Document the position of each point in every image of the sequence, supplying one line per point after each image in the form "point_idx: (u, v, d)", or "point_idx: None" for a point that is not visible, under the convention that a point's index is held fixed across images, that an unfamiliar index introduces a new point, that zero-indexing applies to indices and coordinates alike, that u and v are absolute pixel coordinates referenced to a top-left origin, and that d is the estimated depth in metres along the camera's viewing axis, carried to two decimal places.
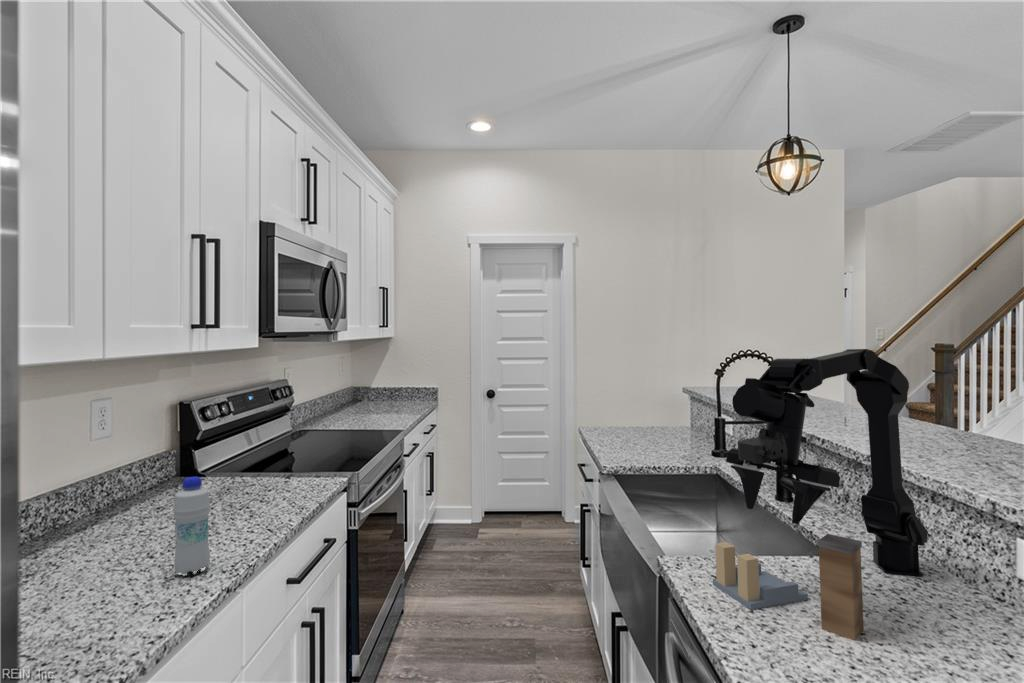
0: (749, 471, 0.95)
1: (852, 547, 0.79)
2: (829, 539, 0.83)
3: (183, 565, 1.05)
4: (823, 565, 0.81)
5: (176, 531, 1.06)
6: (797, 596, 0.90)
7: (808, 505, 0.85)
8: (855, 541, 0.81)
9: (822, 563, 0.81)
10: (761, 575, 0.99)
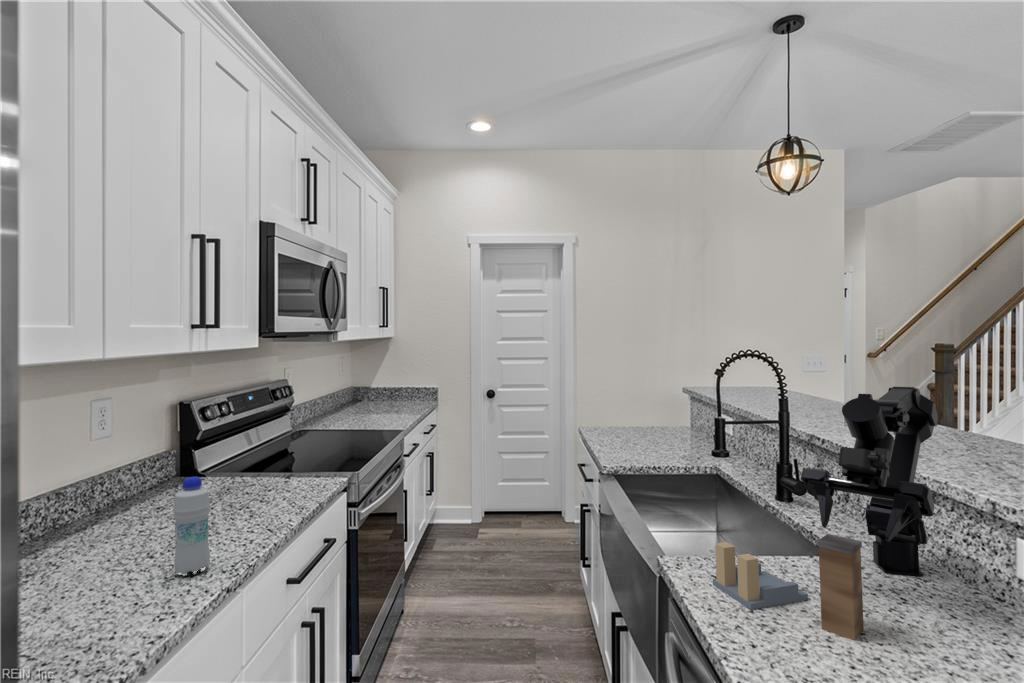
0: (827, 490, 0.93)
1: (852, 547, 0.79)
2: (829, 538, 0.83)
3: (183, 565, 1.05)
4: (823, 565, 0.81)
5: (176, 531, 1.06)
6: (797, 596, 0.90)
7: (900, 526, 0.84)
8: (855, 541, 0.81)
9: (822, 563, 0.81)
10: (761, 575, 0.99)
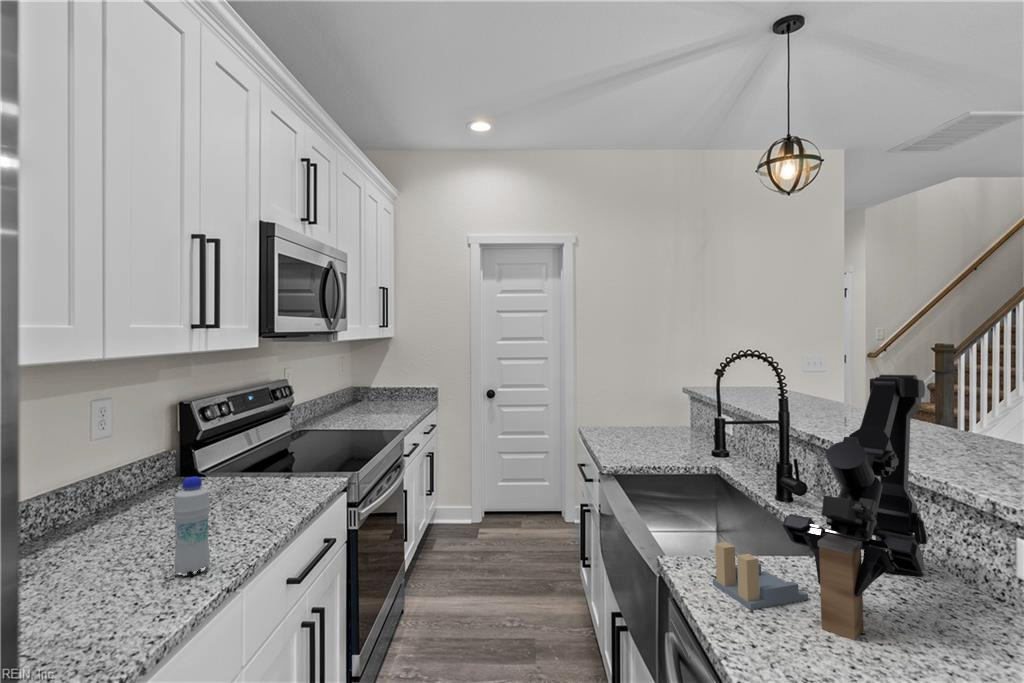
0: None
1: (852, 547, 0.79)
2: (829, 538, 0.82)
3: (183, 565, 1.05)
4: (823, 565, 0.81)
5: (176, 531, 1.06)
6: (797, 596, 0.90)
7: (871, 580, 0.80)
8: (855, 541, 0.81)
9: (822, 563, 0.81)
10: (761, 575, 0.99)
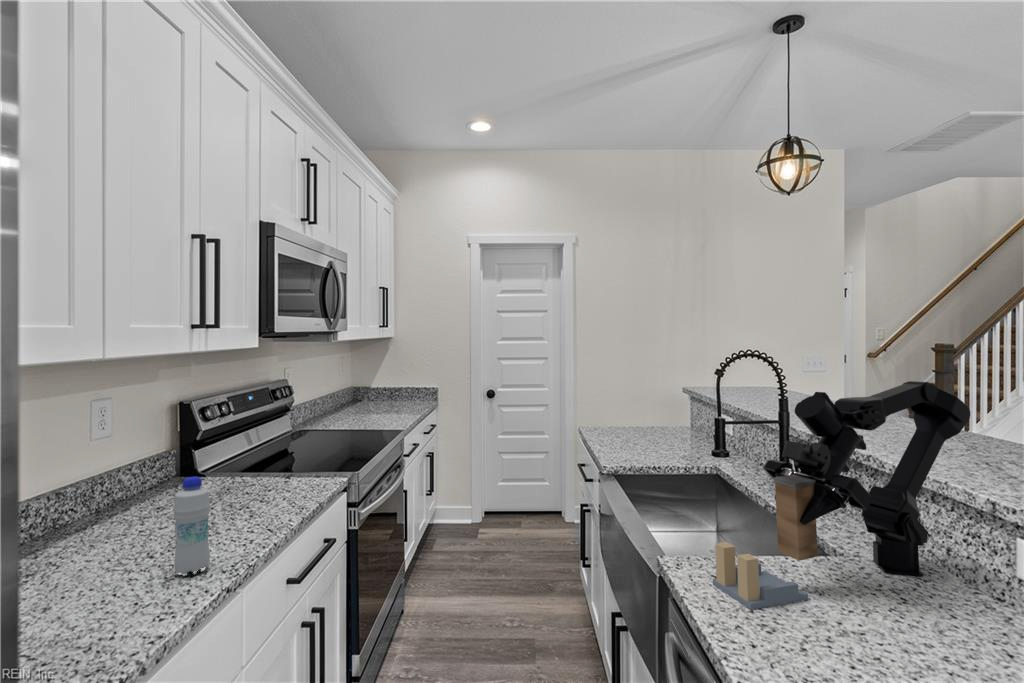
0: None
1: (798, 482, 0.92)
2: (787, 477, 0.96)
3: (183, 565, 1.05)
4: (778, 498, 0.95)
5: (176, 531, 1.06)
6: (797, 596, 0.90)
7: (820, 513, 0.92)
8: (809, 479, 0.94)
9: (777, 496, 0.96)
10: (761, 575, 0.99)
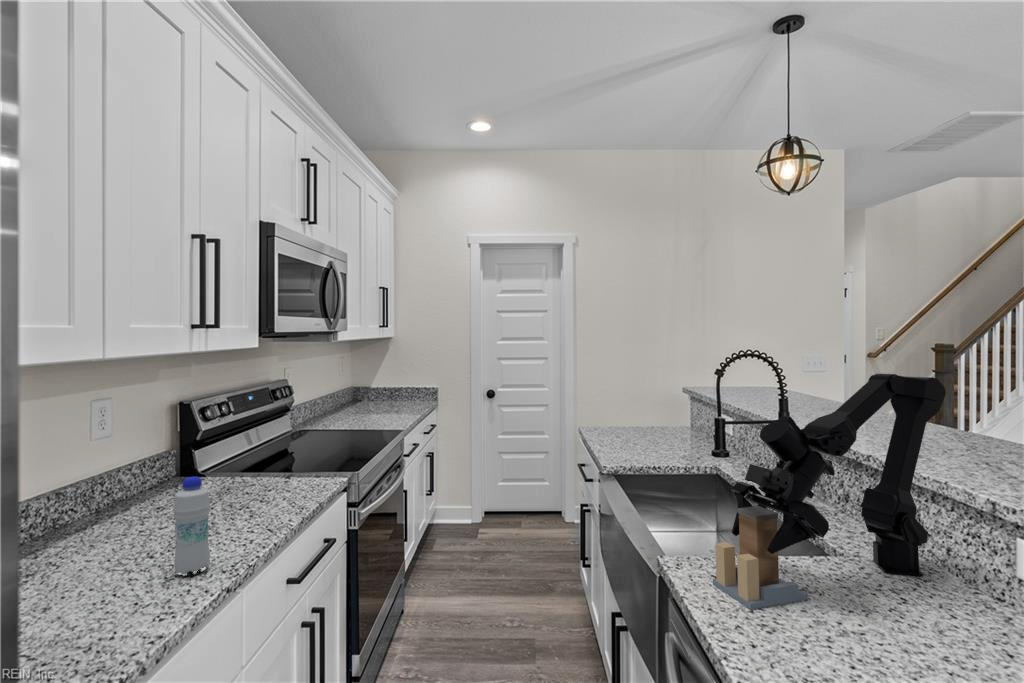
0: (748, 503, 1.00)
1: (759, 515, 0.92)
2: (751, 508, 0.96)
3: (183, 565, 1.05)
4: (741, 529, 0.95)
5: (176, 531, 1.06)
6: (797, 596, 0.90)
7: (788, 542, 0.89)
8: (772, 512, 0.93)
9: (740, 527, 0.96)
10: None
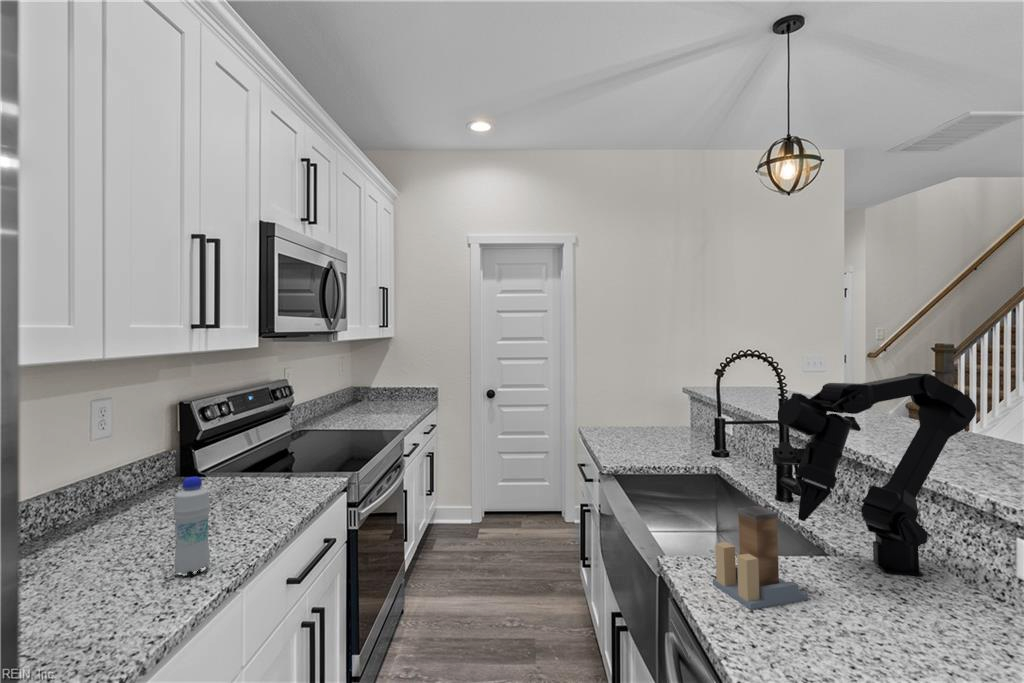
0: None
1: (759, 515, 0.92)
2: (751, 508, 0.96)
3: (183, 565, 1.05)
4: (741, 529, 0.95)
5: (176, 531, 1.06)
6: (797, 596, 0.90)
7: (812, 505, 0.94)
8: (771, 512, 0.93)
9: (740, 527, 0.96)
10: None
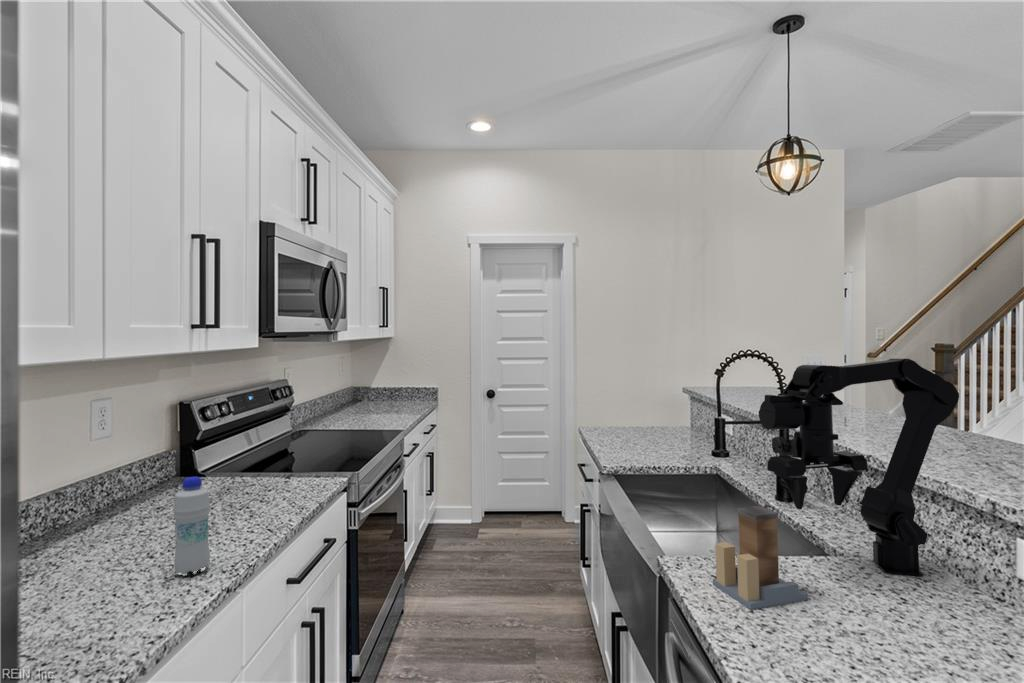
0: (834, 470, 1.04)
1: (759, 515, 0.92)
2: (751, 508, 0.96)
3: (183, 565, 1.05)
4: (741, 529, 0.95)
5: (176, 531, 1.06)
6: (797, 596, 0.90)
7: (797, 493, 1.00)
8: (771, 512, 0.93)
9: (740, 527, 0.96)
10: None
